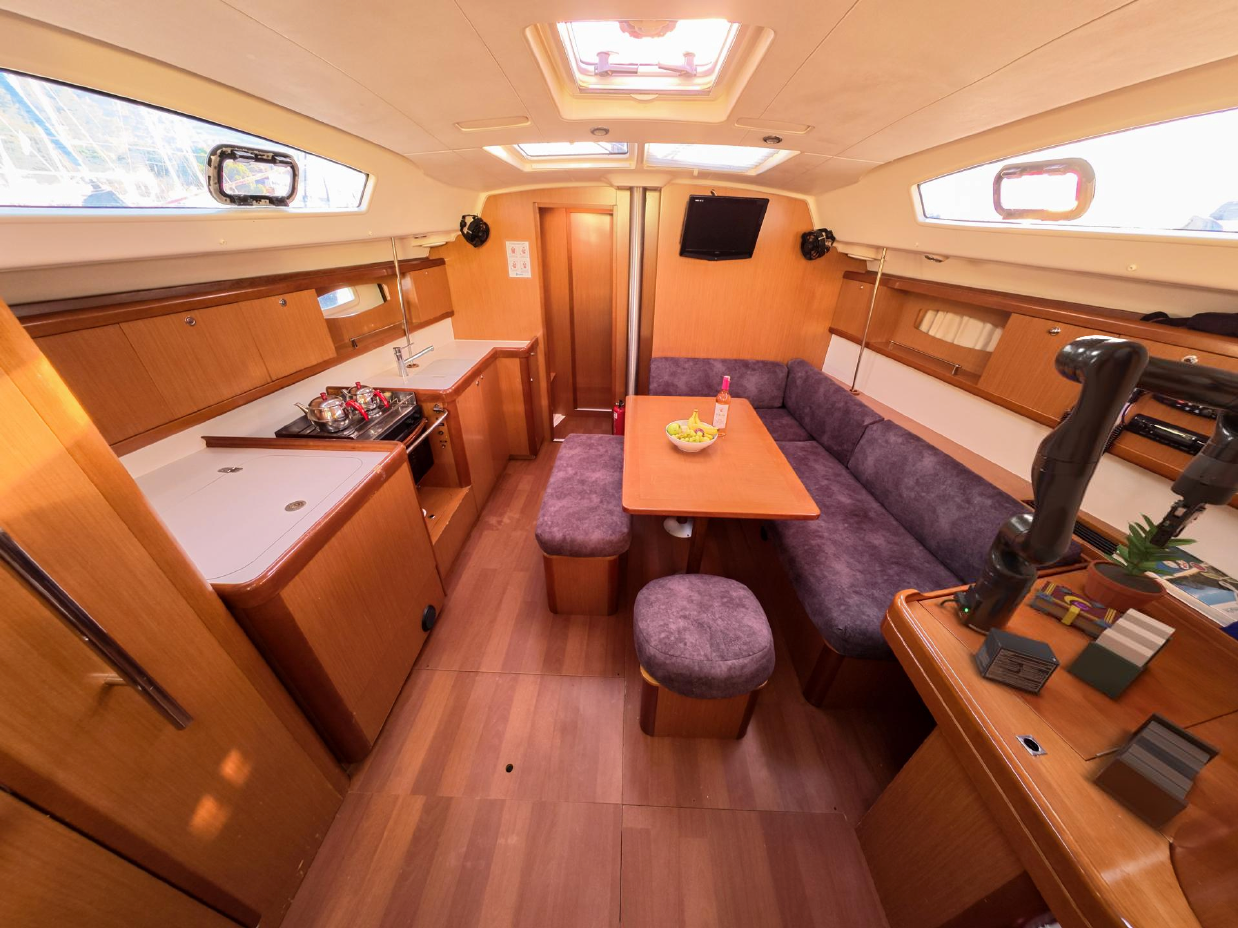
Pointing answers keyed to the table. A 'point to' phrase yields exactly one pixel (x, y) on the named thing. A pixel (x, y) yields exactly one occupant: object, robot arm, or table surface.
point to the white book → (1138, 635)
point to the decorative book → (1075, 609)
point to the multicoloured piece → (1118, 656)
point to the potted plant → (1132, 571)
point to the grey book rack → (1155, 769)
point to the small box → (1016, 661)
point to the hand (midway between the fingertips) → (1162, 540)
